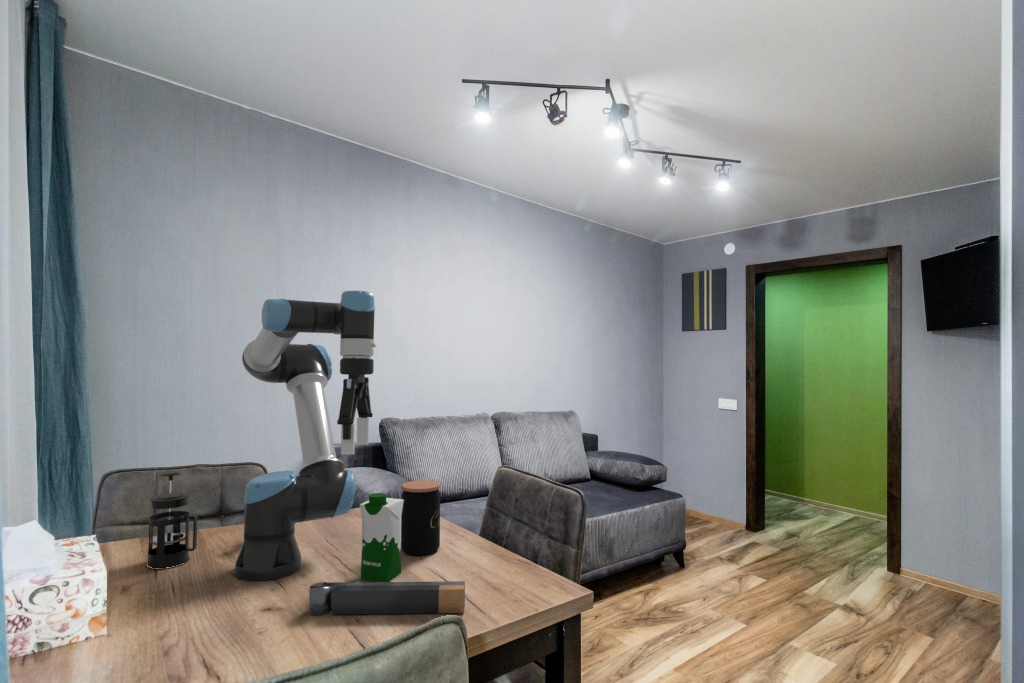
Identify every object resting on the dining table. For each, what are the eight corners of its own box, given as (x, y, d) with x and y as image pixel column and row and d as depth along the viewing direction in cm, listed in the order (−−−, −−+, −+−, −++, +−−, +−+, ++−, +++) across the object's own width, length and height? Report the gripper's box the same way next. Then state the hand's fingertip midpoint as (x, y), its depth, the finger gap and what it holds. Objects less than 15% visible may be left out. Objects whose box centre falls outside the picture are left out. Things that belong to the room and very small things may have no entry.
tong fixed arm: (306, 615, 110) (306, 591, 110) (313, 606, 115) (313, 582, 115) (463, 614, 111) (464, 589, 112) (464, 604, 116) (465, 580, 116)
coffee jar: (436, 557, 144) (437, 489, 144) (396, 556, 144) (397, 488, 144) (442, 543, 154) (443, 480, 155) (405, 543, 154) (406, 480, 155)
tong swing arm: (331, 614, 110) (332, 590, 110) (334, 609, 112) (334, 586, 113) (463, 612, 111) (464, 589, 112) (464, 608, 113) (464, 585, 114)
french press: (135, 570, 133) (138, 477, 134) (154, 557, 142) (157, 469, 143) (187, 568, 135) (189, 475, 136) (202, 554, 144) (204, 468, 145)
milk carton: (354, 580, 128) (356, 495, 129) (376, 567, 136) (377, 487, 137) (387, 586, 125) (388, 499, 126) (406, 571, 134) (407, 490, 134)
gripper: (360, 357, 113) (358, 458, 112) (384, 357, 138) (382, 441, 137) (324, 356, 113) (322, 458, 112) (354, 357, 138) (353, 441, 137)
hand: (355, 449), depth 125 cm, fingers open, 13 cm apart
